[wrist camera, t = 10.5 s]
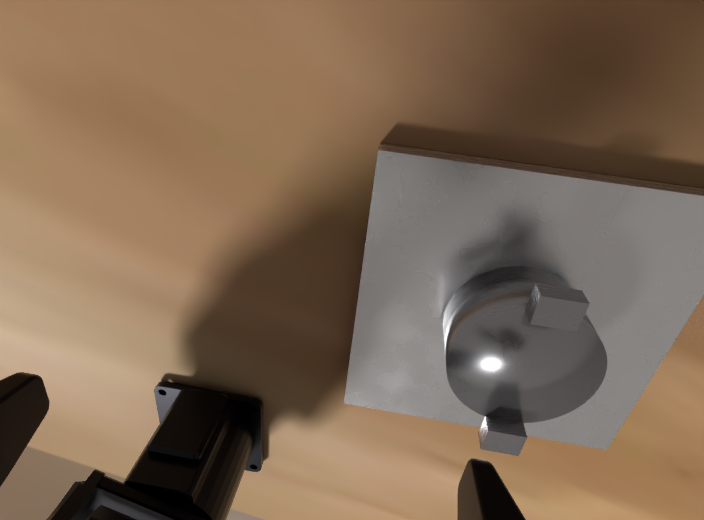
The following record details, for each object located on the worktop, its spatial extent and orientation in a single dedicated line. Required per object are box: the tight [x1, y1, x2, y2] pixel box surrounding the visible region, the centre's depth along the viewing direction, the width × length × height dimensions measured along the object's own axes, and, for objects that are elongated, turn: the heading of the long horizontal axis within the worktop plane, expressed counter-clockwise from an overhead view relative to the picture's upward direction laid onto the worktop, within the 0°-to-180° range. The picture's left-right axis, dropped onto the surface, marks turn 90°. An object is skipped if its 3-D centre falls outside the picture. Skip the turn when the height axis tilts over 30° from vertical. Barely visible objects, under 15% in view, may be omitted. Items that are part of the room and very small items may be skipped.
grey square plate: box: [344, 143, 704, 456], centre depth 19 cm, size 14×14×5 cm
